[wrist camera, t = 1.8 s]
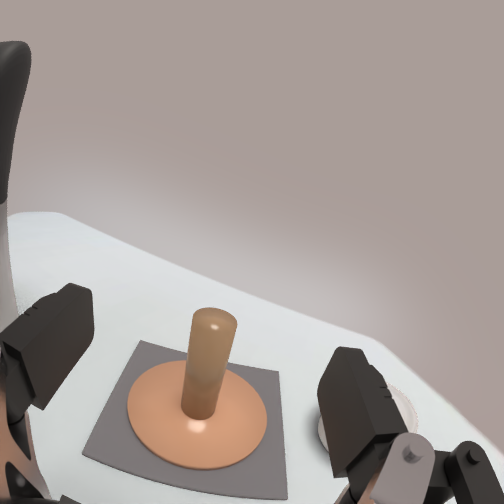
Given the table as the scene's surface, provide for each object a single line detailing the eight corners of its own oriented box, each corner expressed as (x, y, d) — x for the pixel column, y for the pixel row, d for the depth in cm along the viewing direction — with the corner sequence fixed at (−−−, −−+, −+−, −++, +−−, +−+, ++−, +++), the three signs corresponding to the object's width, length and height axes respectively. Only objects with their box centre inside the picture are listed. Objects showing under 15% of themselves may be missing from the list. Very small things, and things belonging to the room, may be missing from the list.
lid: (106, 385, 24) (97, 288, 20) (209, 353, 34) (227, 269, 30) (180, 495, 15) (191, 425, 12) (291, 426, 25) (336, 342, 22)
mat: (82, 454, 16) (81, 452, 16) (140, 342, 33) (140, 340, 33) (286, 500, 17) (287, 498, 17) (277, 373, 34) (278, 371, 34)
